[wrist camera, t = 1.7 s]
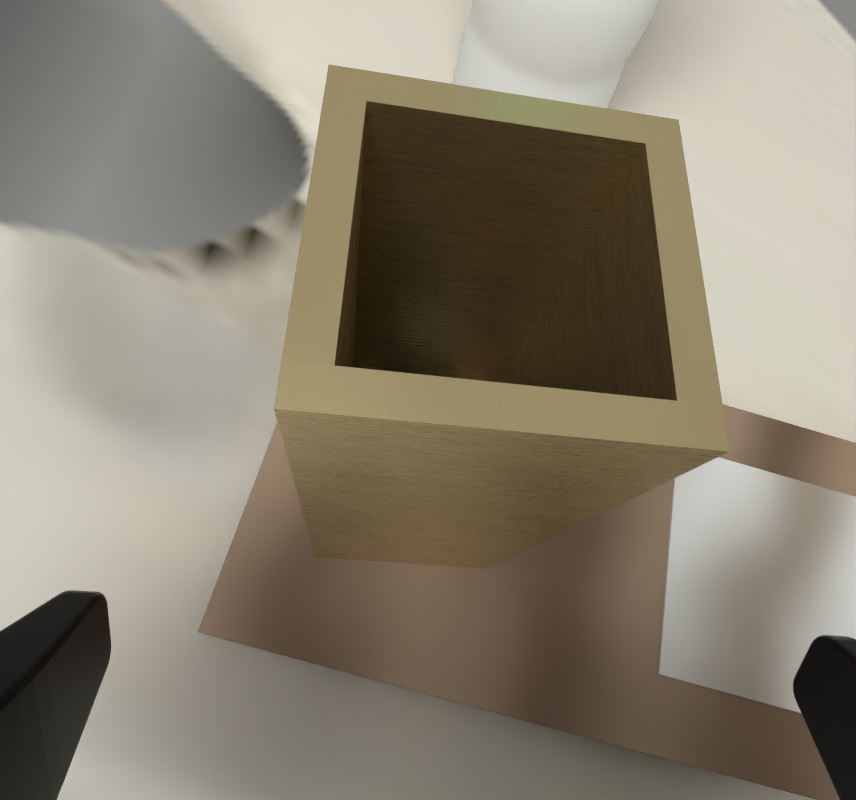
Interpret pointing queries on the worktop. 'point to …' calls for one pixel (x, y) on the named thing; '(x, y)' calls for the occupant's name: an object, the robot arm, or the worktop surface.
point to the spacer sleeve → (489, 322)
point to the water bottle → (551, 47)
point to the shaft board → (594, 607)
